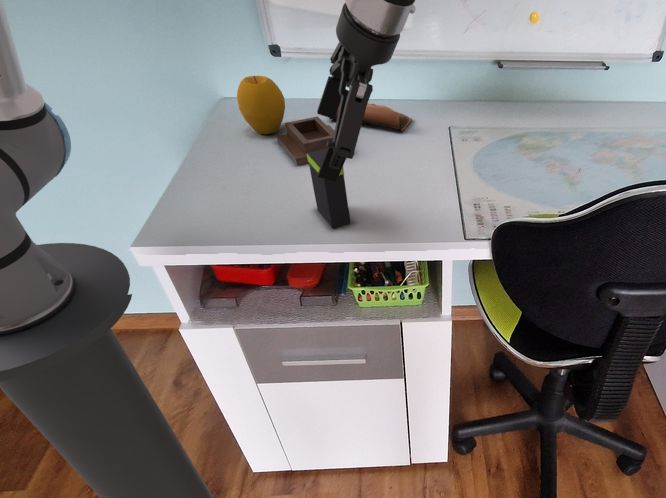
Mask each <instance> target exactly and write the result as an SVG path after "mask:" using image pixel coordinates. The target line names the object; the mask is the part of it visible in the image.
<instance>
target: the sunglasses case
mask: <svg viewBox="0 0 666 498" xmlns="http://www.w3.org/2000/svg"><path fill="white" fill-rule="evenodd" d="M339 107H340V105H339ZM338 112H339V108H338V110H337V113H336V116H335V119H334V120H337V117H338ZM329 120H332V121H333V119H332V118H329ZM411 122H412V117H410V116H408V115H406V114H404V113H401V112H398V111H396V110H394V109H393V108H390V107H388V106H386V105H382V104H381V105H380V104H375V103H369V102H368V103H367V107H366V110H365V114H364V118H363V121H362V124H363V123H364V124H371V125H375V126H381V127H386V128H390V129H391V128H392V129H396V130H399V131H400V132H404V131H405V130H406V129H407V127H408V126H409V125H410V124H411Z"/></svg>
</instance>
